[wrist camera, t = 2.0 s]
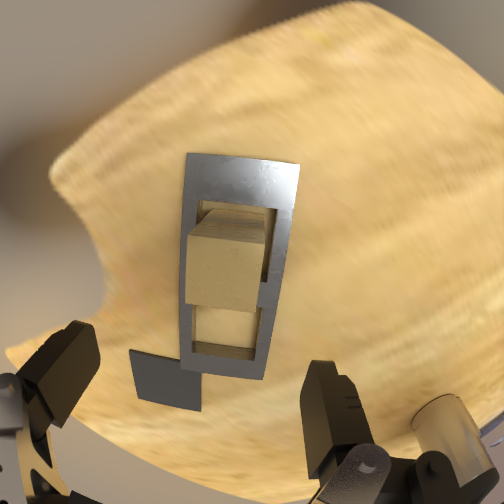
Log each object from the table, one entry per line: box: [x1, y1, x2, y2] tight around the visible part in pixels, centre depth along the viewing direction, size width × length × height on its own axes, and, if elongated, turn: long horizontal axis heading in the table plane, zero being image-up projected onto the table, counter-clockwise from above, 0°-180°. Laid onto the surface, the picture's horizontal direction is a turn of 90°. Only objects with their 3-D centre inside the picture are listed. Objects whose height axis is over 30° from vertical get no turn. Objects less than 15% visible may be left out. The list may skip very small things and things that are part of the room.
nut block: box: [185, 209, 265, 313], centre depth 21 cm, size 4×4×9 cm
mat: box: [129, 349, 201, 412], centre depth 31 cm, size 9×9×1 cm
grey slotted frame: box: [179, 153, 300, 380], centre depth 25 cm, size 9×22×2 cm, turn 173°
